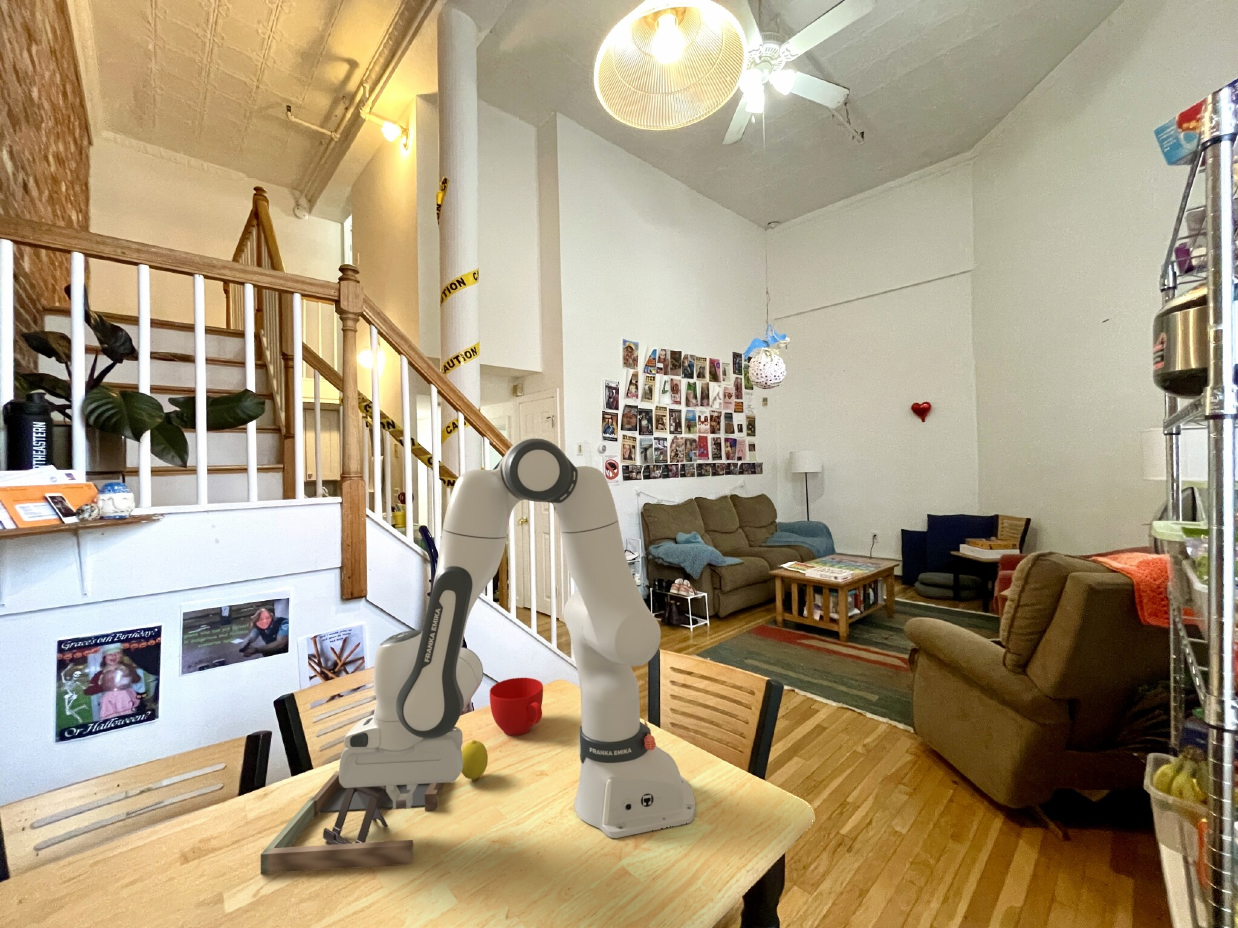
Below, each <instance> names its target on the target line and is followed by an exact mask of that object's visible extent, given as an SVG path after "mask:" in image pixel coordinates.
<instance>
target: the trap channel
mask: <svg viewBox="0 0 1238 928" xmlns="http://www.w3.org/2000/svg"><path fill="white" fill-rule="evenodd" d="M445 784H446V782H444V783H430V785H429V787H428V789H427V791H426V793H425V807H424V811H425V812H427V811H437V808H438V806H439V805H438V803H439V801H438V798H439V796H440V794H441V791H442V790H443V787H444V785H445ZM382 787H384V788H386V786H382ZM339 788H344V787H343V786H342V785H341V784H340V782H339V770H336V771H335V772H334V773H332V775H331V777H329V779H328V780H327V781H326V782H325V783H324V784H323V786H322V787H320V789H319V790H318V791H317V793H316V794H315V795H314V796H310V797H309V798H308V800H307V801H306V802H305V803H304V804H303V805H302V806H301V808H299V810H298V811H297V812H296V813H295V814H294V815H293V817H292V818H290V820H289V821H288V823H286V825H285V826H284V827H283V828H282V829H281V830H280V831H279V833H278V834H277V835H276V836H275V837H274V838H273V839H272V841H271V842H270V843H269V844H268V845H267V846H266V847H265V849H264V850H263V851H262V852H261V853H260V874H273V873H275V874H276V873H290V872H291V873H292V872H307V871H308V872H309V871H321V870H322V871H323V870H338V869H342V870H343V869H352V868H353V869H356V868H370V867H371V868H372V867H373V868H374V867H385V866H386V867H387V866H401V865H411V864H412V861H414V840H413V839H405V840H389V841H388V840H387V841H372V842H369V841H368V842H365V843H355V842H352V843H351V844H335V845H333V844H324V845H323V844H322V845H321V844H320V845H308V846H307V845H304V846H302V845H301V846H292V845H293V844H294V842H296V840H297V839H298V838H299V837H300V835H302V833H303V832H304V830H305V829H306V828H307V827H308V825H309V824H310V823H311V822H312V821H313V820H314V818H318V816H319V815H321V810H322V809H323V807H324V806H325V805H326V804H327V802H328V801H329V800H330V799H331V798H332V796H333V795H334V794H335V793H336V791H337V790H338V789H339ZM380 804H381V803H380ZM380 804H378V805H377V806H378V807H379V806H380Z"/></svg>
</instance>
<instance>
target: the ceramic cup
mask: <svg viewBox="0 0 1238 928" xmlns="http://www.w3.org/2000/svg"><path fill="white" fill-rule="evenodd" d="M543 698H544V686H543V682H542V681H540V680H538V679H536V678H531V677H515V678H514V677H513V678H507V679H504V680H502V681H499V682H496V683H495V684H494V685H492V687H490V689H489V704H490V711H491V714H492V718H493V720H494V722H495V723H496V725H497V727H499V729H501V731H502V732H503V733H504V734H505V735H509V736H521V735H524V734H526V733H528V732H529V731H531V728H532V727H533V726H534V725H536V724H538V723H539V722H540V721H541V720H542V717H543V709H542V706H543Z"/></svg>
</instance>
